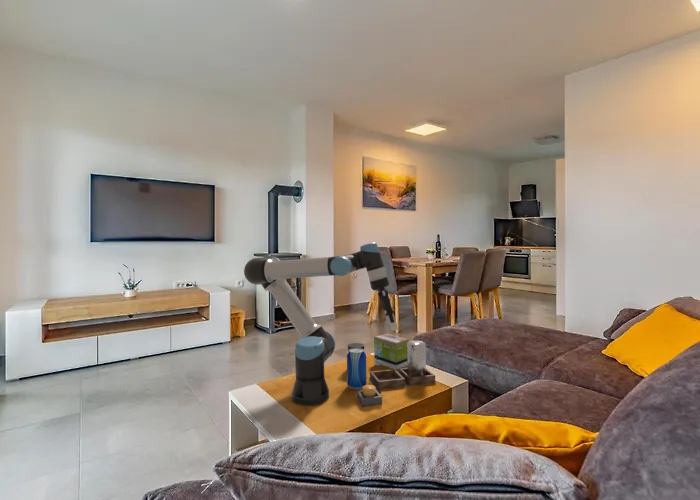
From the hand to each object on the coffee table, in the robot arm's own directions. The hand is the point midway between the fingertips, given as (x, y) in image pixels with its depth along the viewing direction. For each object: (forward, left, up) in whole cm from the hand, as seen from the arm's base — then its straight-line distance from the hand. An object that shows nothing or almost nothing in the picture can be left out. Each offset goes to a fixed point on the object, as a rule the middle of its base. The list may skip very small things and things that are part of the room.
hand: (392, 327), depth 151 cm
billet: (+13, +5, -25) cm, 29 cm away
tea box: (+9, +27, -27) cm, 39 cm away
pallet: (+6, +5, -27) cm, 28 cm away
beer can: (-14, +8, -27) cm, 31 cm away
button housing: (-13, -7, -27) cm, 31 cm away
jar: (-9, +28, -27) cm, 40 cm away
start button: (-13, -7, -24) cm, 29 cm away
